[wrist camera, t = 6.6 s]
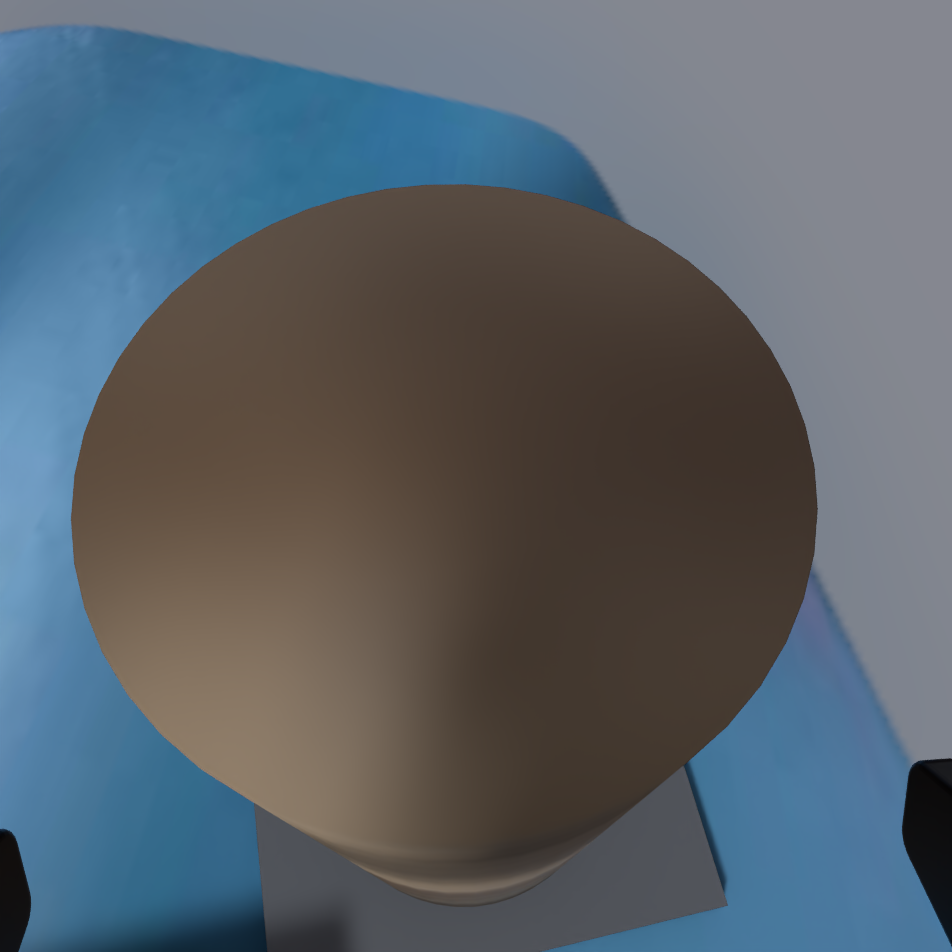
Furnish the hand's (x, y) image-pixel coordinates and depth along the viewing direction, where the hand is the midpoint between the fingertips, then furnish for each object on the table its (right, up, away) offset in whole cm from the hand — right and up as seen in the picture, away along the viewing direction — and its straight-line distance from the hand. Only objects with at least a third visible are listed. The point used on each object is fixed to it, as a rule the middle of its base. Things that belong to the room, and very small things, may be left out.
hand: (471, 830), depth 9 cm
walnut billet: (0, -2, +10) cm, 10 cm away
